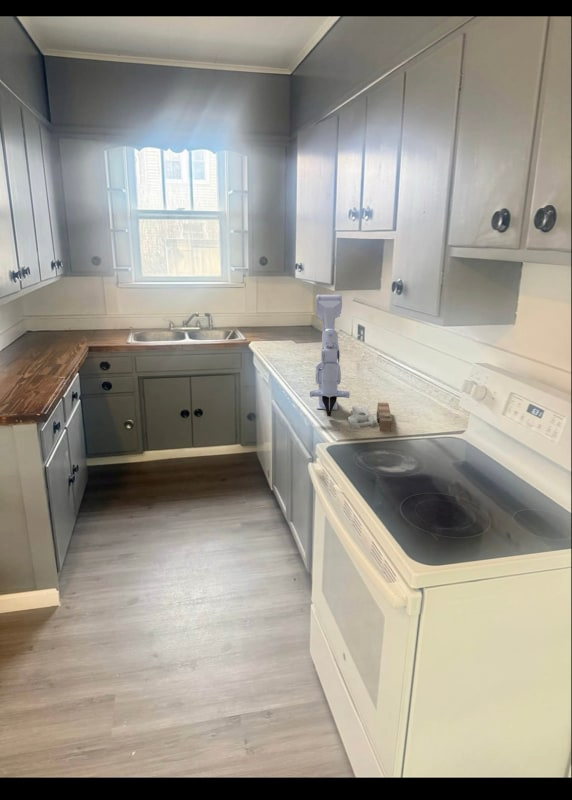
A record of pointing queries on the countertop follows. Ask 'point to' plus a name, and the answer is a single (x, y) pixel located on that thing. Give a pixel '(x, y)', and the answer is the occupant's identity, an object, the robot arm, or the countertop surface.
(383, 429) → the charging dock
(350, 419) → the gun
